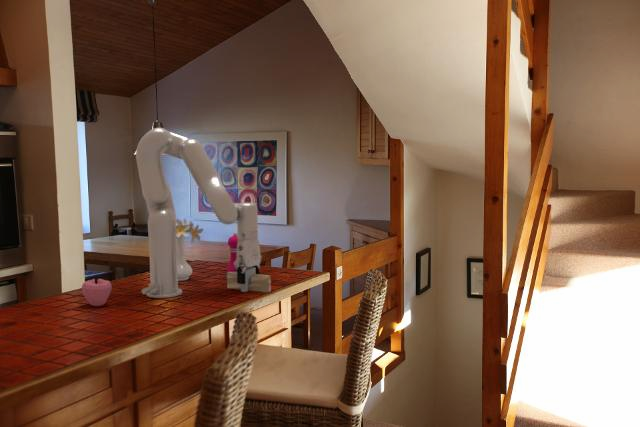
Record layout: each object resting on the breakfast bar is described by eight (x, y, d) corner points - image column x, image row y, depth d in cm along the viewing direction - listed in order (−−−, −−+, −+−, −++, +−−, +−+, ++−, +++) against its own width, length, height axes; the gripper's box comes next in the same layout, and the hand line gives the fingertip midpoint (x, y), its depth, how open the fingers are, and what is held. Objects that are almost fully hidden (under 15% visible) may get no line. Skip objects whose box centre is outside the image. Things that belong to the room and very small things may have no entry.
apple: (117, 304, 199) (116, 275, 198) (96, 310, 192) (94, 280, 191) (98, 301, 204) (97, 272, 203) (77, 306, 197) (75, 277, 196)
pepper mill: (247, 279, 239) (246, 230, 237) (242, 283, 232) (241, 233, 230) (229, 279, 240) (228, 230, 238) (225, 283, 232) (223, 232, 230)
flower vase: (194, 284, 231) (192, 220, 228) (154, 281, 237) (152, 219, 234) (210, 277, 243) (209, 217, 241) (172, 275, 249) (170, 216, 246)
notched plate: (241, 291, 217) (240, 270, 217) (251, 287, 224) (251, 267, 223) (245, 292, 216) (245, 270, 216) (255, 288, 223) (255, 267, 222)
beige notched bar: (268, 292, 215) (267, 276, 215) (227, 288, 223) (226, 272, 223) (270, 291, 217) (270, 275, 216) (230, 287, 225) (229, 271, 224)
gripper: (243, 239, 209) (244, 286, 210) (268, 233, 224) (269, 277, 226) (225, 238, 212) (226, 284, 214) (251, 232, 228) (252, 276, 229)
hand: (248, 281), depth 220 cm, fingers open, 9 cm apart
